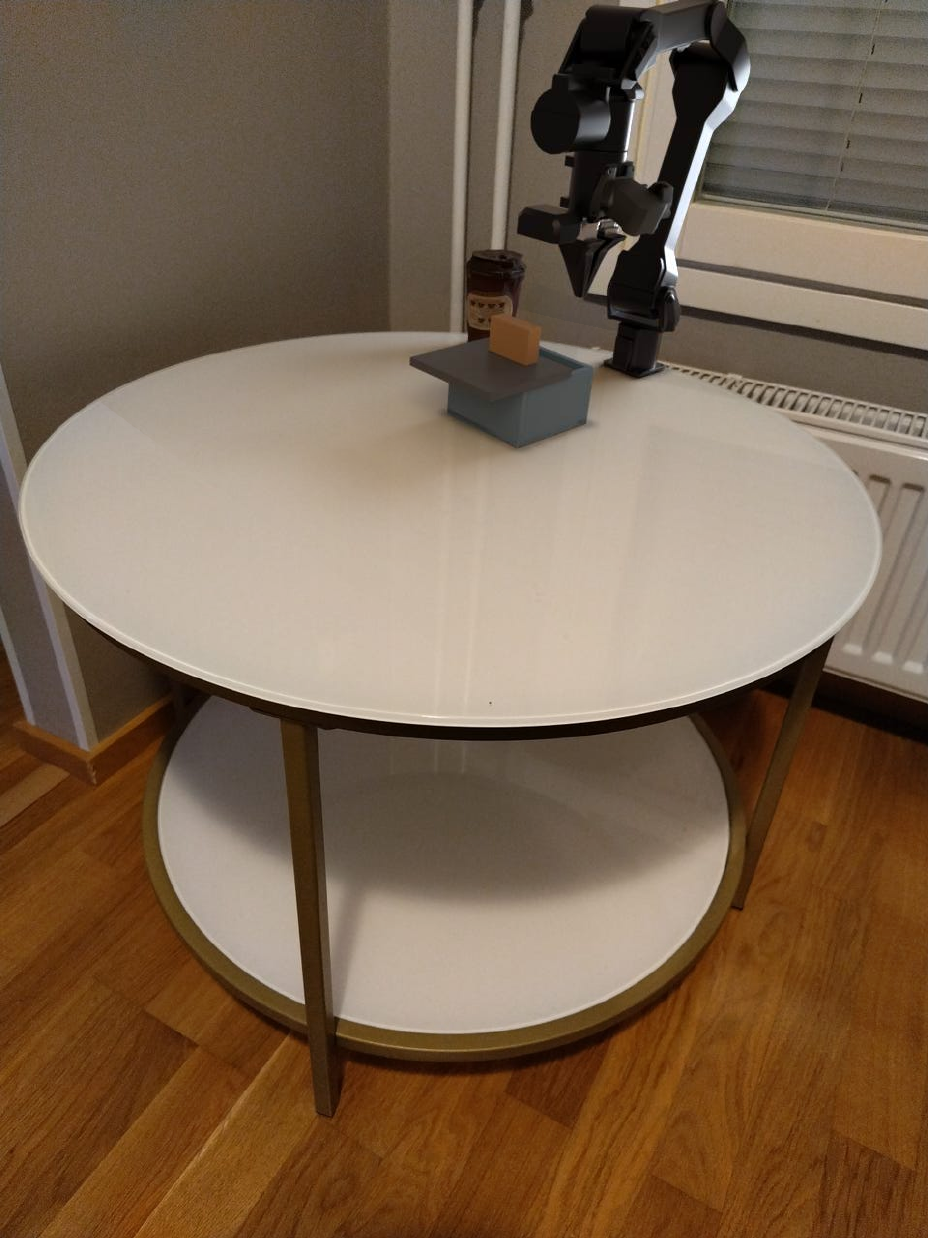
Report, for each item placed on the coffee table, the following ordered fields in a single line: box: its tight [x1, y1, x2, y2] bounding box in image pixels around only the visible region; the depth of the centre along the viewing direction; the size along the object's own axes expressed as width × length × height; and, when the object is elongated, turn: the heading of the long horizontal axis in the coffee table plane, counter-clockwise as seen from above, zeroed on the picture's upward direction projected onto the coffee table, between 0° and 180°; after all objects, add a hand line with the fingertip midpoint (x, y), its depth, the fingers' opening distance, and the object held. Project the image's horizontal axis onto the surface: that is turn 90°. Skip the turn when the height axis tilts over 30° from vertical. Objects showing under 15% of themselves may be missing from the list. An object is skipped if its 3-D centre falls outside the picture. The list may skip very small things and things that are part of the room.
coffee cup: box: [465, 248, 528, 343], centre depth 121 cm, size 9×8×13 cm
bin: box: [446, 345, 595, 449], centre depth 102 cm, size 12×12×7 cm
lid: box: [409, 313, 572, 402], centre depth 96 cm, size 13×13×5 cm
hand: (580, 296), depth 102 cm, fingers closed
